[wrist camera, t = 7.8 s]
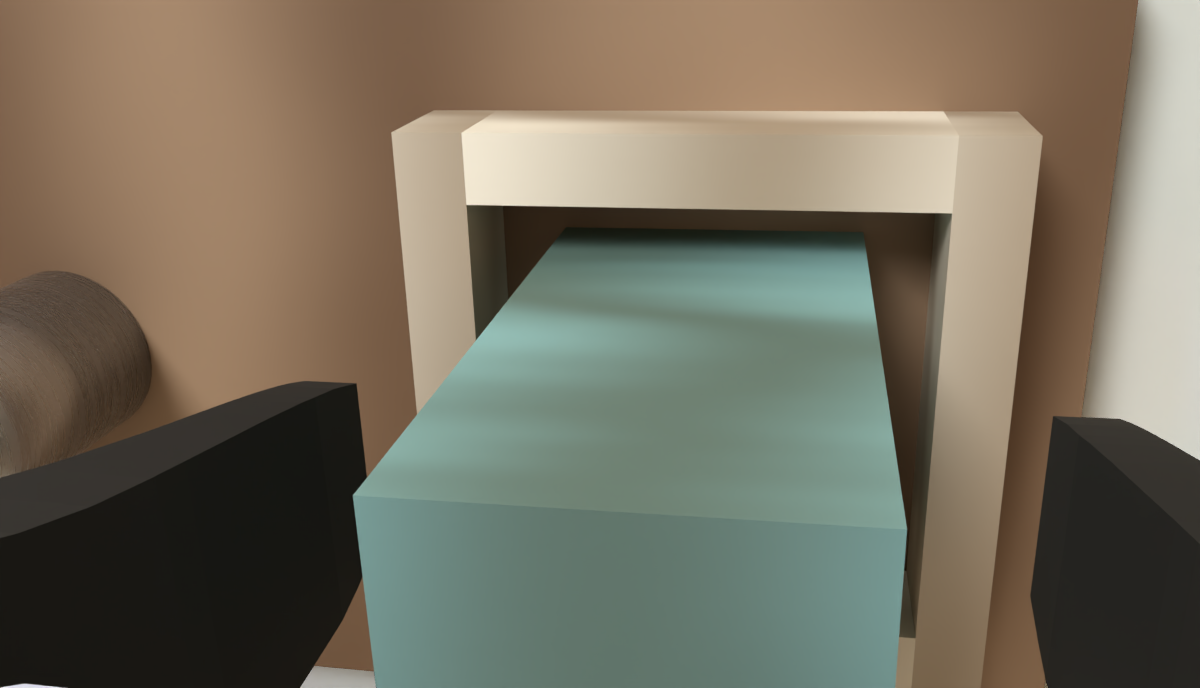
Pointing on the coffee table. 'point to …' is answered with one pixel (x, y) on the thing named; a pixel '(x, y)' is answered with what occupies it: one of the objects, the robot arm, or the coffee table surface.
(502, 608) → the peg
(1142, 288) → the coffee table surface
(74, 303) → the brushed metal cylinder
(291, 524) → the robot arm
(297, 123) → the brown board
